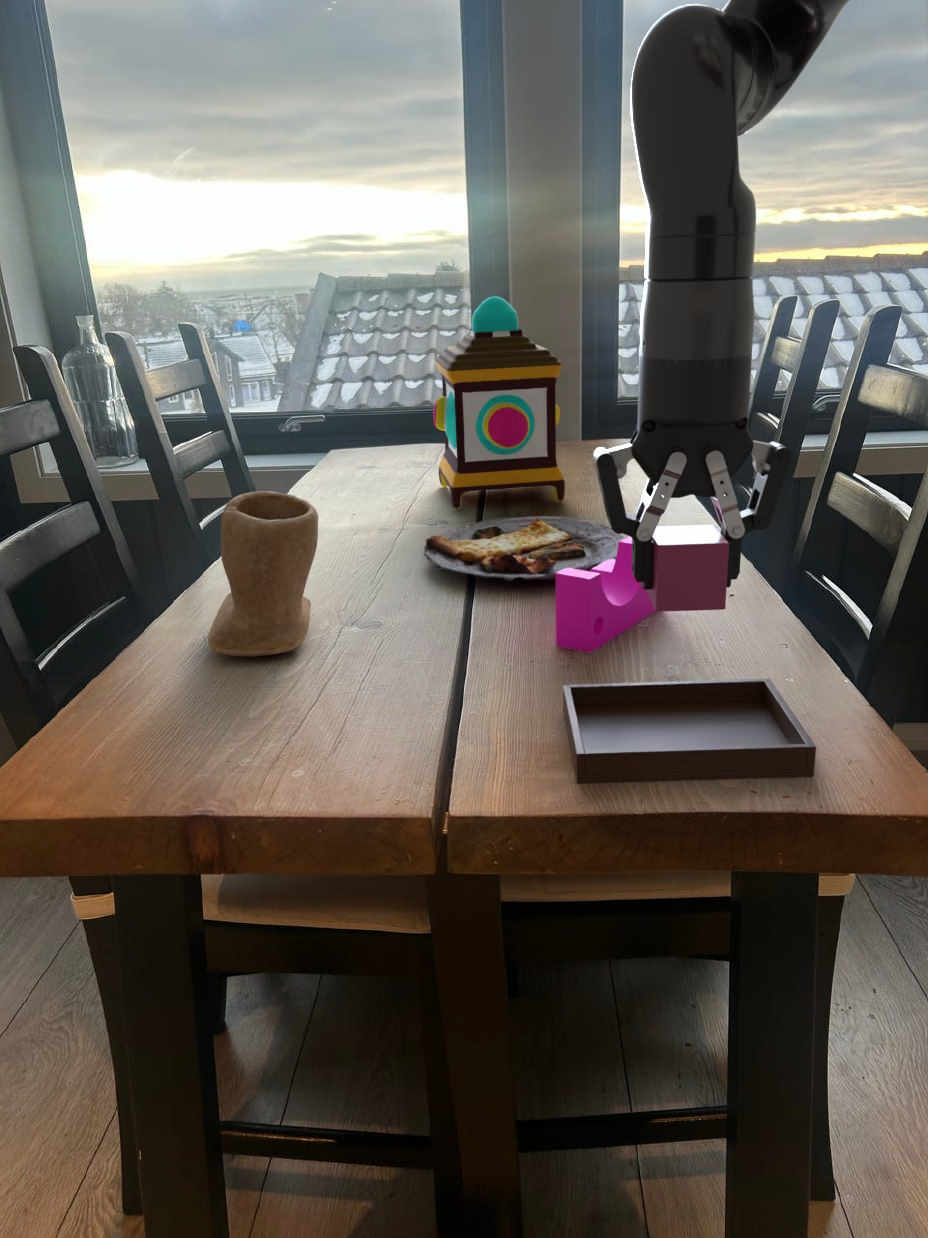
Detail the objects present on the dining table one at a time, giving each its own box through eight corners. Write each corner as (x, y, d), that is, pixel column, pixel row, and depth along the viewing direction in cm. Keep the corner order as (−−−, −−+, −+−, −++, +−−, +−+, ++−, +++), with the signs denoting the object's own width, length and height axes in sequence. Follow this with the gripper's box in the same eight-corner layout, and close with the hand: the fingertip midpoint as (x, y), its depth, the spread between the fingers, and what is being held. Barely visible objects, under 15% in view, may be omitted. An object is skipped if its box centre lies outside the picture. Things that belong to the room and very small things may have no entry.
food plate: (479, 605, 110) (478, 575, 109) (394, 555, 129) (392, 528, 128) (662, 566, 120) (663, 538, 119) (558, 525, 140) (557, 500, 139)
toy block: (609, 597, 111) (610, 532, 108) (660, 607, 107) (662, 540, 104) (534, 640, 100) (533, 568, 97) (589, 653, 96) (589, 579, 93)
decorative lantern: (575, 504, 151) (575, 295, 140) (445, 513, 148) (435, 302, 138) (547, 476, 169) (545, 290, 159) (430, 484, 167) (421, 296, 156)
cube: (710, 587, 77) (713, 524, 75) (725, 609, 72) (729, 542, 70) (644, 589, 77) (646, 526, 75) (655, 612, 72) (657, 545, 70)
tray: (767, 704, 84) (769, 678, 83) (813, 776, 73) (816, 747, 72) (562, 710, 84) (562, 684, 84) (576, 783, 73) (576, 754, 72)
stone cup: (323, 662, 96) (309, 510, 91) (199, 668, 96) (178, 517, 91) (335, 609, 111) (324, 475, 105) (227, 614, 110) (210, 480, 105)
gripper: (595, 358, 65) (593, 605, 71) (818, 350, 64) (797, 599, 70) (583, 347, 72) (582, 573, 78) (785, 340, 71) (768, 567, 77)
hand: (684, 584), depth 74 cm, fingers closed on cube, 5 cm apart
